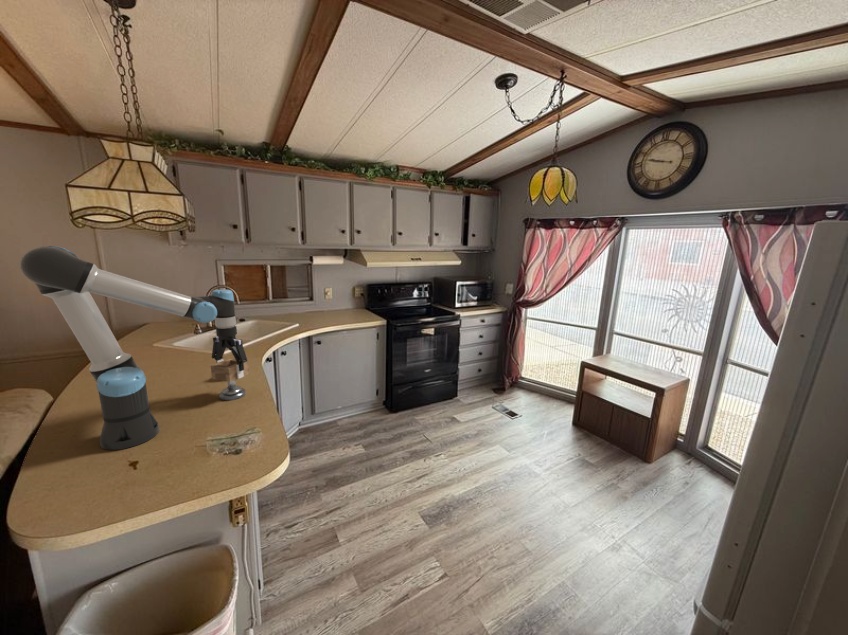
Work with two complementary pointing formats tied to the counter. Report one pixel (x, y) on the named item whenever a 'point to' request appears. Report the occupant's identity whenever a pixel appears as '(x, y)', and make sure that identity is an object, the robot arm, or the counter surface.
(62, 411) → the counter surface
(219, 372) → the light wood square frame
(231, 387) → the post stand
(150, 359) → the counter surface
